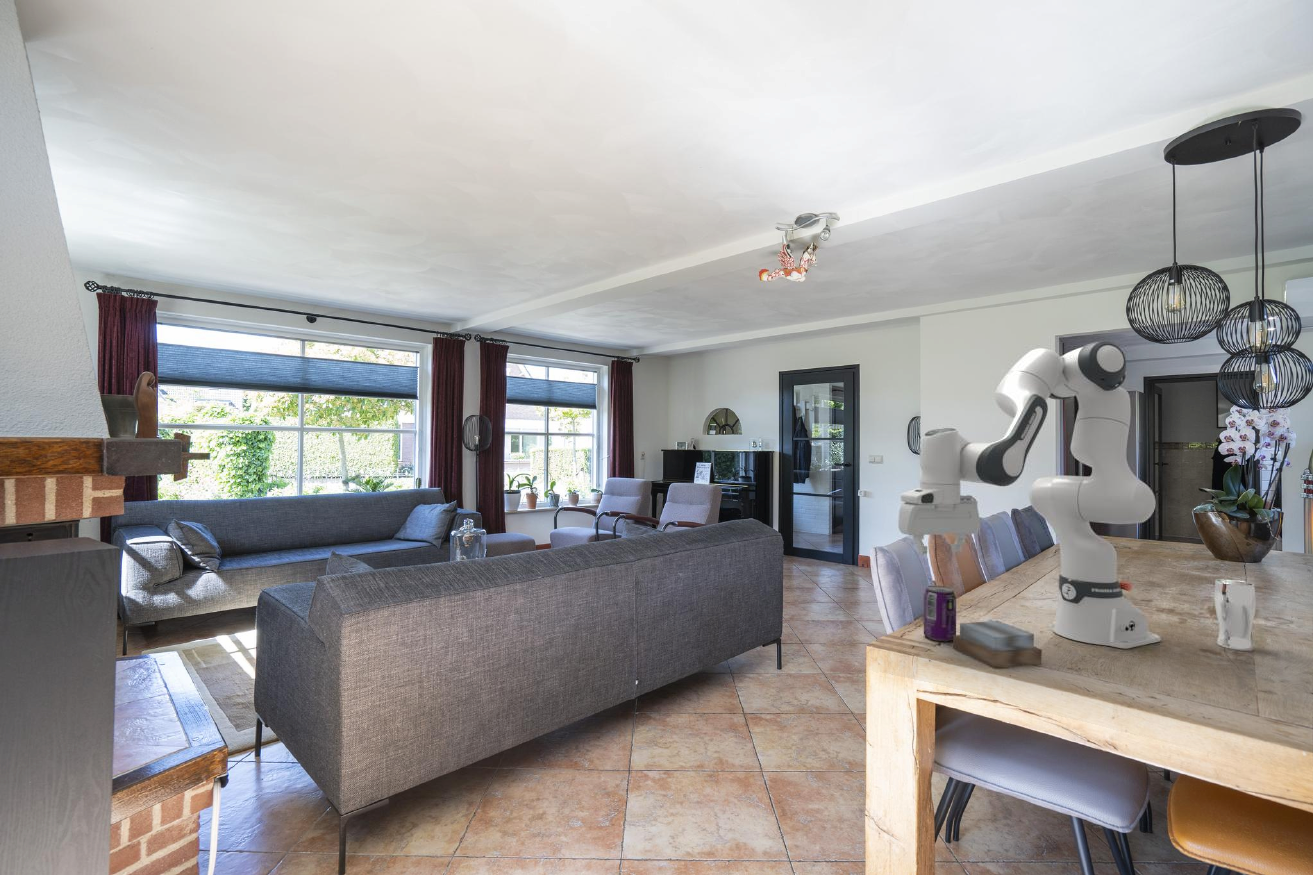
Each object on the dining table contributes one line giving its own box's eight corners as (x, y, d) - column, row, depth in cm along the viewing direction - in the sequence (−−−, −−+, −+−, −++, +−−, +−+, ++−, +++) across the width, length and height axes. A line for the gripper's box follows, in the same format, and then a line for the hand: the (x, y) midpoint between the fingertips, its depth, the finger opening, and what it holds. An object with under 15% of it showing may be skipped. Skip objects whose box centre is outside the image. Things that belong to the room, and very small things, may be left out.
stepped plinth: (997, 644, 138) (997, 619, 138) (1041, 663, 126) (1041, 635, 126) (953, 648, 135) (953, 622, 135) (993, 667, 124) (993, 639, 124)
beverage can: (960, 644, 138) (960, 592, 138) (927, 641, 140) (927, 590, 140) (951, 634, 145) (951, 585, 145) (920, 632, 147) (920, 584, 147)
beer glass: (1247, 644, 140) (1247, 580, 140) (1262, 653, 133) (1262, 586, 134) (1208, 639, 143) (1208, 577, 143) (1221, 648, 136) (1221, 583, 136)
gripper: (967, 494, 148) (967, 549, 148) (894, 494, 144) (894, 551, 144) (986, 496, 142) (986, 554, 142) (911, 496, 138) (911, 556, 138)
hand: (939, 552), depth 143 cm, fingers open, 8 cm apart
